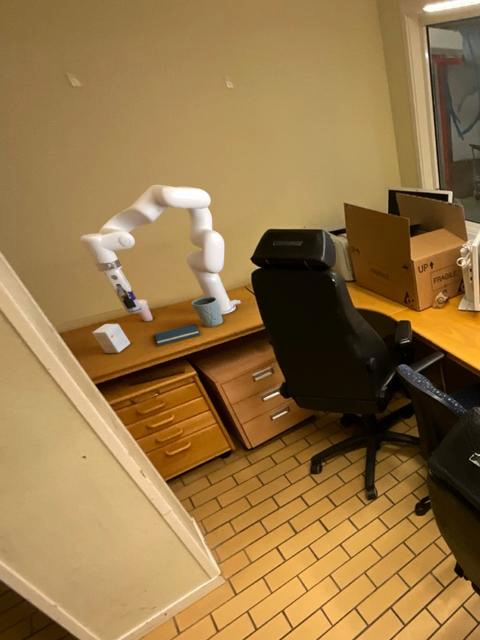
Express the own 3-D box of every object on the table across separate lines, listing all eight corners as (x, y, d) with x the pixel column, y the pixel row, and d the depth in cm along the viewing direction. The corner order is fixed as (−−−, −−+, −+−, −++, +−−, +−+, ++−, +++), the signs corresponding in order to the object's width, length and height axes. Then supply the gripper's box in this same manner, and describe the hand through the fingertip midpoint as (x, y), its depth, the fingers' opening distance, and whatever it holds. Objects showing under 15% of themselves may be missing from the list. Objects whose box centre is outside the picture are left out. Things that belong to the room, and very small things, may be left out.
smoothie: (137, 321, 196) (122, 295, 188) (150, 315, 201) (136, 290, 193) (145, 323, 194) (130, 297, 186) (159, 318, 199) (144, 292, 191)
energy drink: (145, 308, 175) (131, 283, 168) (135, 314, 171) (120, 288, 164) (134, 308, 176) (120, 282, 169) (124, 313, 171) (108, 287, 165)
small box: (118, 344, 178) (104, 323, 172) (131, 343, 178) (118, 323, 172) (105, 353, 171) (91, 332, 165) (118, 353, 172) (105, 332, 166)
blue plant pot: (198, 323, 195) (187, 301, 188) (219, 316, 202) (209, 294, 195) (208, 329, 190) (197, 307, 183) (229, 321, 197) (220, 299, 190)
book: (195, 325, 193) (194, 323, 192) (199, 335, 186) (198, 333, 185) (156, 335, 185) (155, 333, 184) (158, 345, 177) (157, 344, 177)
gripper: (120, 269, 158) (143, 309, 169) (119, 257, 169) (141, 296, 179) (96, 273, 154) (121, 314, 165) (96, 261, 165) (120, 301, 175)
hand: (131, 304), depth 172 cm, fingers closed on energy drink, 5 cm apart
